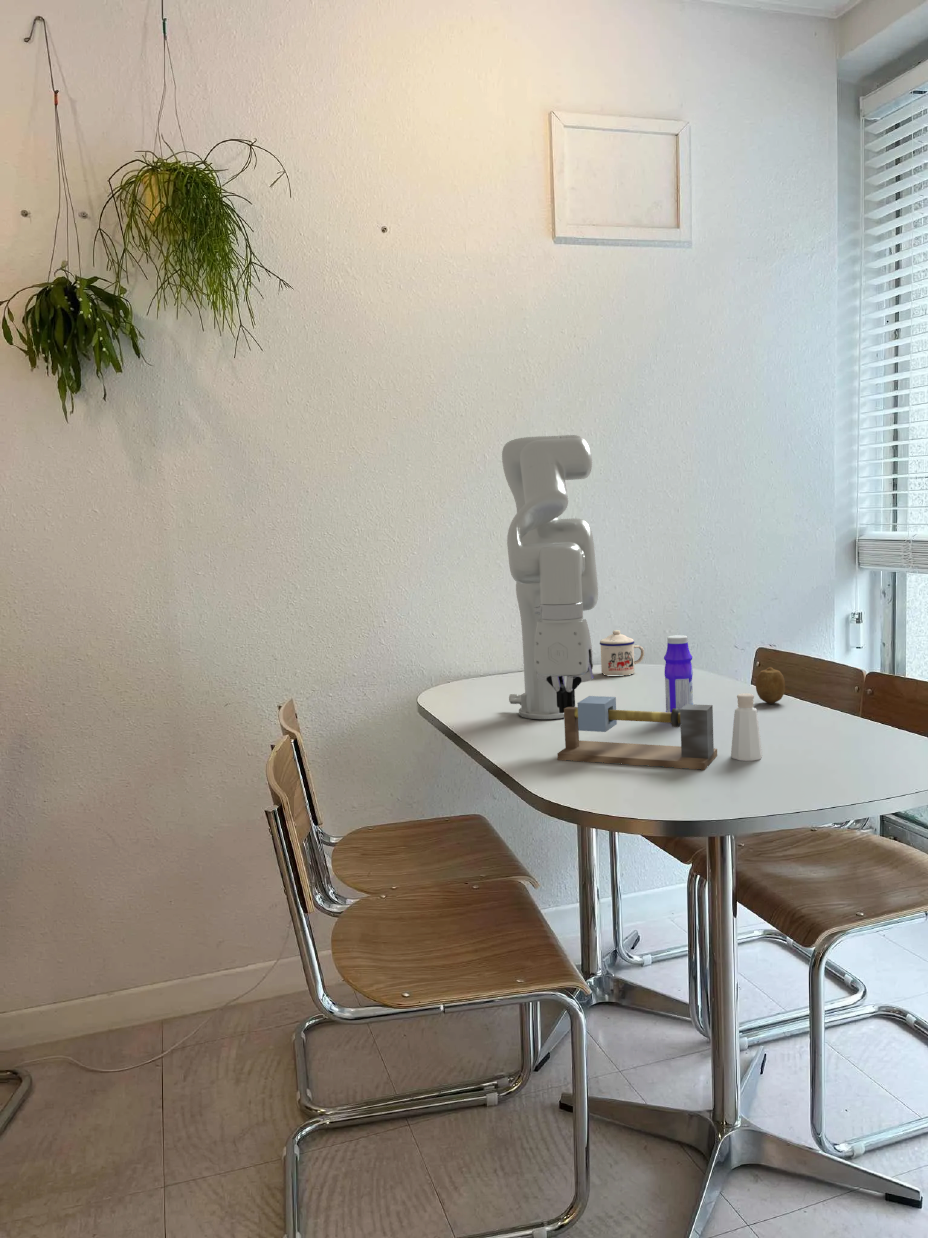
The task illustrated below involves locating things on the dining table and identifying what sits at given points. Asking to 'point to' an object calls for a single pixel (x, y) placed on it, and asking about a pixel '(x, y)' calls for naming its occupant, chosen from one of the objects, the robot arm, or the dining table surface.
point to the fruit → (770, 685)
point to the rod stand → (690, 754)
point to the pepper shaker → (746, 730)
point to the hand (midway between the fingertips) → (566, 711)
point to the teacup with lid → (618, 654)
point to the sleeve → (596, 713)
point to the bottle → (678, 673)
